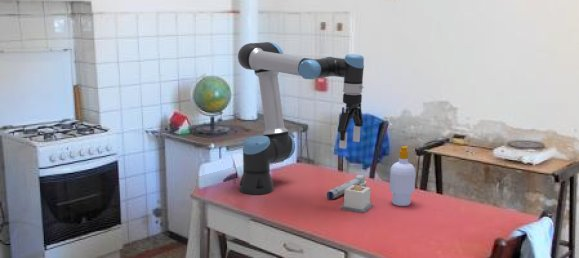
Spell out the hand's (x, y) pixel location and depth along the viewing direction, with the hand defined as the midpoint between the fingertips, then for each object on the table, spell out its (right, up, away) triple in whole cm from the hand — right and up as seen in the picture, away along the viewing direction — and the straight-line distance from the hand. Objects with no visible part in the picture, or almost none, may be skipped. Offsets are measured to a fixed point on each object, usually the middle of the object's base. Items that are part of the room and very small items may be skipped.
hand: (349, 144), depth 243 cm
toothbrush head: (+1, -22, +18) cm, 28 cm away
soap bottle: (+22, -25, +4) cm, 33 cm away
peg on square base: (+3, -25, -1) cm, 26 cm away
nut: (+3, -24, -2) cm, 25 cm away
